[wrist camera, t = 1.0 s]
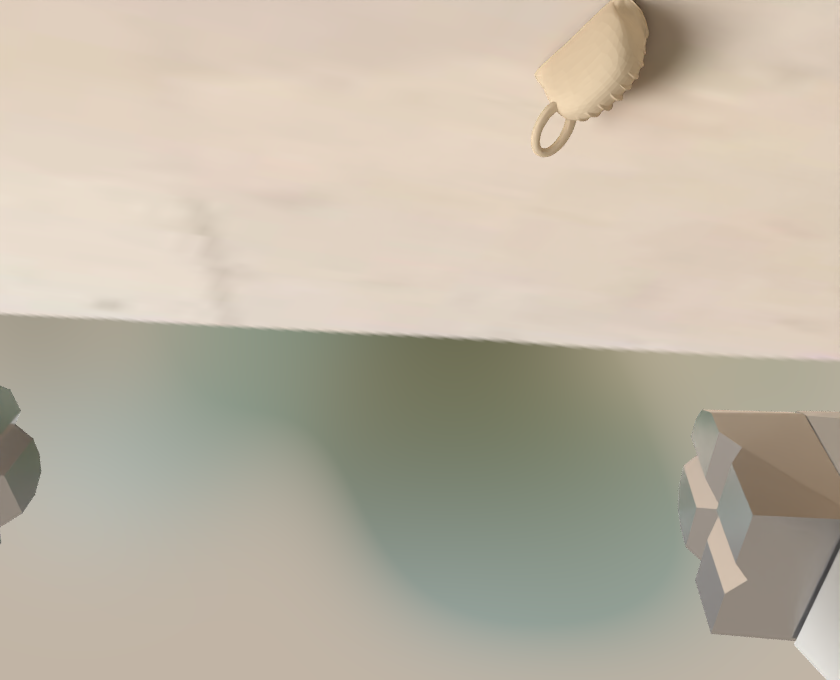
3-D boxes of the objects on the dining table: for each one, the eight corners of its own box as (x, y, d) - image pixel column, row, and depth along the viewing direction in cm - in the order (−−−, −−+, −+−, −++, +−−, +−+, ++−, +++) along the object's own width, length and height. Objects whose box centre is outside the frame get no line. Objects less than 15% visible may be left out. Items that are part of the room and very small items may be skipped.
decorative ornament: (669, 43, 41) (673, 73, 37) (555, 134, 45) (548, 170, 41) (625, -13, 39) (625, 12, 35) (514, 87, 44) (502, 119, 40)
